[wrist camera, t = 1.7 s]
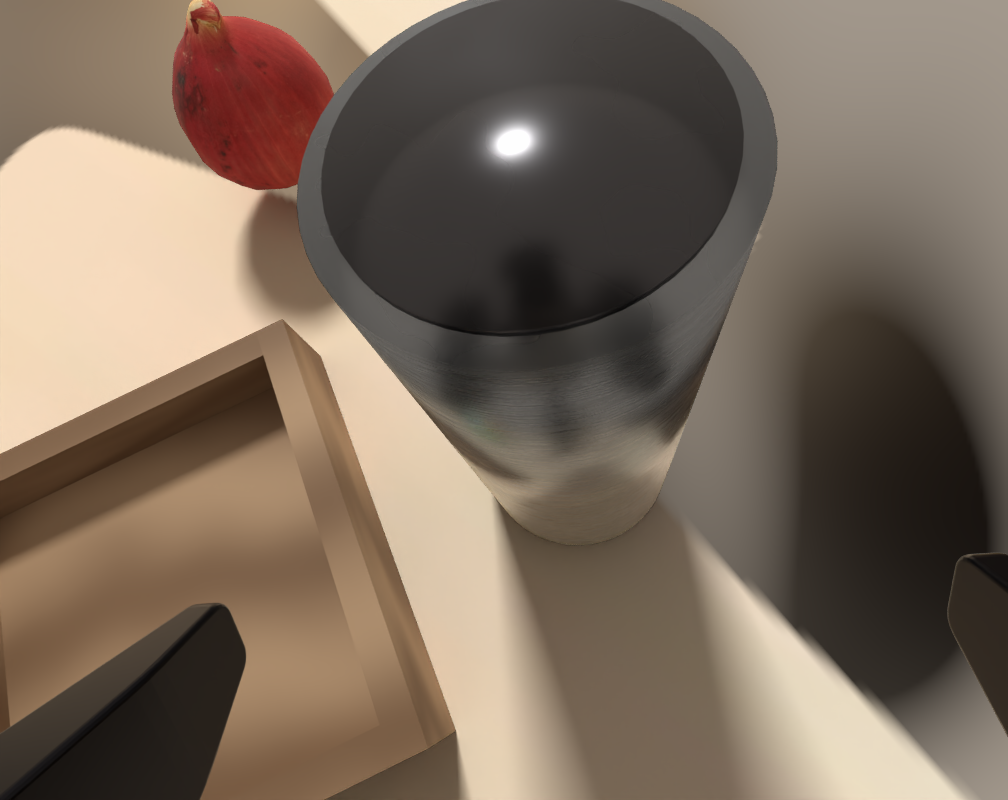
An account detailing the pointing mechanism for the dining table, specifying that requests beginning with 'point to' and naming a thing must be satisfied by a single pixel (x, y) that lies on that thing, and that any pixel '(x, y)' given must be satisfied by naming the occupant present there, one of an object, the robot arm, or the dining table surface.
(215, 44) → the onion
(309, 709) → the tray
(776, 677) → the dining table surface
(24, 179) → the dining table surface
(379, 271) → the tin
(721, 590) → the dining table surface
